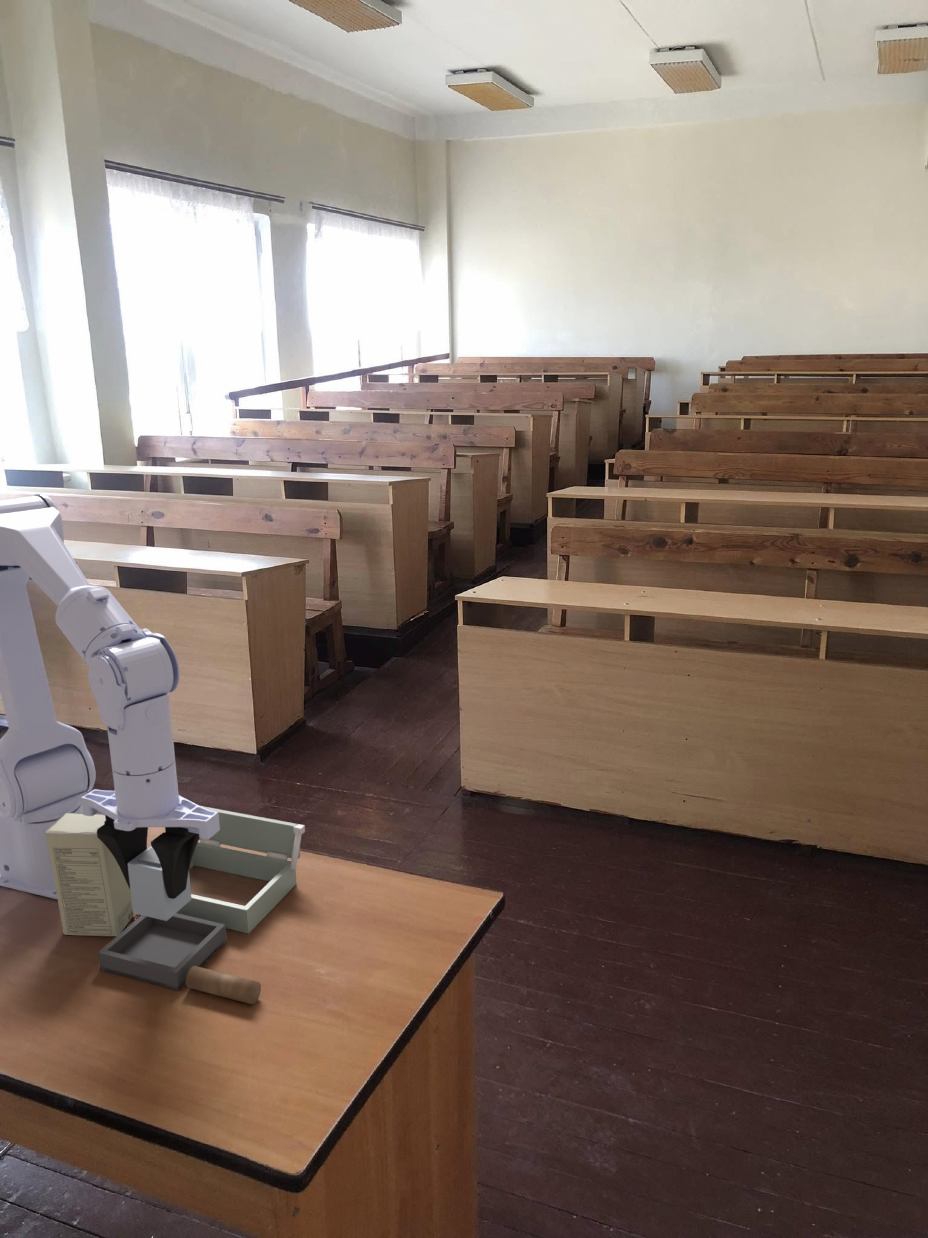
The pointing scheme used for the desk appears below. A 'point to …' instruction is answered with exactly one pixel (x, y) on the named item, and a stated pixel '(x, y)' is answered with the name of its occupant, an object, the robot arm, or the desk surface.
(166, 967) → the socket
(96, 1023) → the desk surface
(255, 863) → the equipment case
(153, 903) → the block
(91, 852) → the skincare box
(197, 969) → the rod
